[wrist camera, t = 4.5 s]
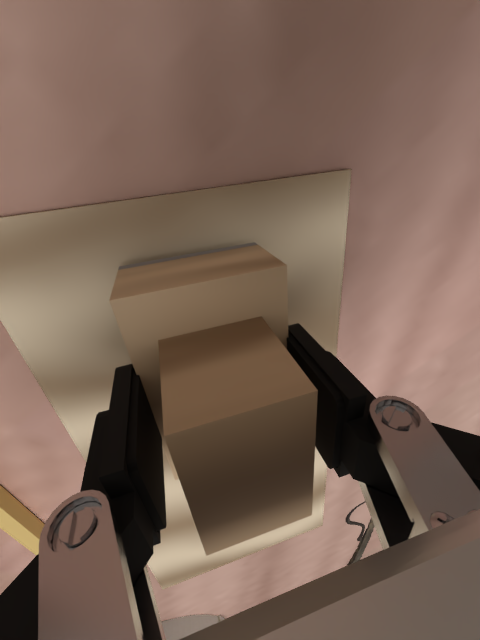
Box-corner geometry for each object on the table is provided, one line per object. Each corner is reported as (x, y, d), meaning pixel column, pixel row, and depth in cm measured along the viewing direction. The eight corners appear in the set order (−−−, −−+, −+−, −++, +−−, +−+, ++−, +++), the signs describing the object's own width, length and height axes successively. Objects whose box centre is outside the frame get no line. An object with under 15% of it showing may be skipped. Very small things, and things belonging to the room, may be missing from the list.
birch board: (-51, 223, 9) (-57, 225, 9) (347, 168, 12) (351, 169, 11) (162, 585, 23) (162, 590, 22) (320, 521, 25) (322, 525, 25)
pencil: (-43, 470, 13) (-54, 487, 12) (-24, 464, 13) (-34, 479, 12) (104, 591, 21) (103, 606, 20) (115, 587, 21) (114, 600, 20)
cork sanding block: (119, 266, 10) (83, 389, 4) (254, 242, 11) (363, 319, 5) (170, 423, 14) (184, 590, 8) (266, 395, 15) (335, 529, 9)
